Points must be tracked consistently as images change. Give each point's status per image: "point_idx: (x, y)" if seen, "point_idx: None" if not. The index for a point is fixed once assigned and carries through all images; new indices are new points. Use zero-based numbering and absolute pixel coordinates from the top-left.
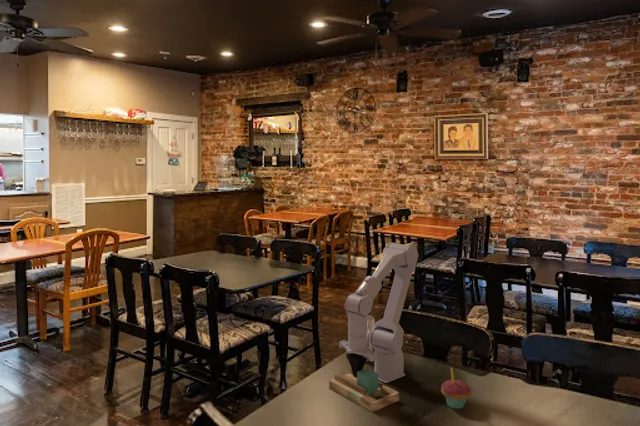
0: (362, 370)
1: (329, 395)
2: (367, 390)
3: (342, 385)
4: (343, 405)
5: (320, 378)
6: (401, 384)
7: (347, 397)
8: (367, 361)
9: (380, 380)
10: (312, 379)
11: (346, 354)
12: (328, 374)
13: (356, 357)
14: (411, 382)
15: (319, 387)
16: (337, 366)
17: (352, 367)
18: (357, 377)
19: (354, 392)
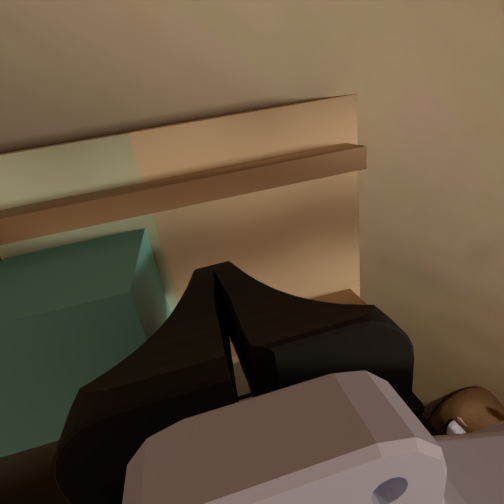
0: None
1: (238, 30)
2: (9, 264)
3: (230, 145)
4: (34, 29)
5: (461, 126)
6: None
7: (135, 130)
8: (431, 416)
9: (244, 399)
10: (486, 68)
11: (399, 335)
12: (463, 198)
13: (127, 454)
14: None
15: (376, 39)
16: (491, 285)
17: (239, 291)
18: (128, 265)
19: (65, 165)
